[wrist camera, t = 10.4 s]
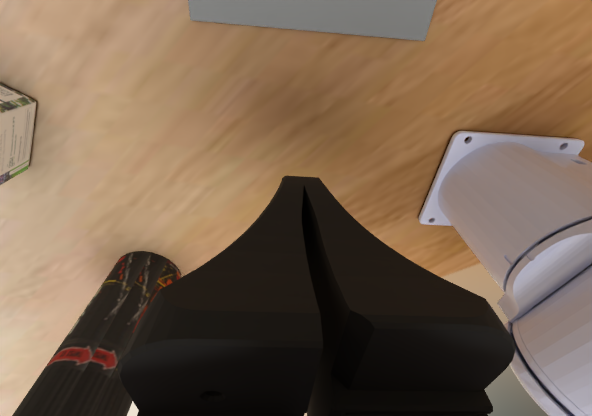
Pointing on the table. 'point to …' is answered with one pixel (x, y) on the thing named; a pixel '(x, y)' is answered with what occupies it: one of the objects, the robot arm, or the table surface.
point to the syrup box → (15, 132)
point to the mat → (323, 15)
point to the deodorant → (100, 344)
